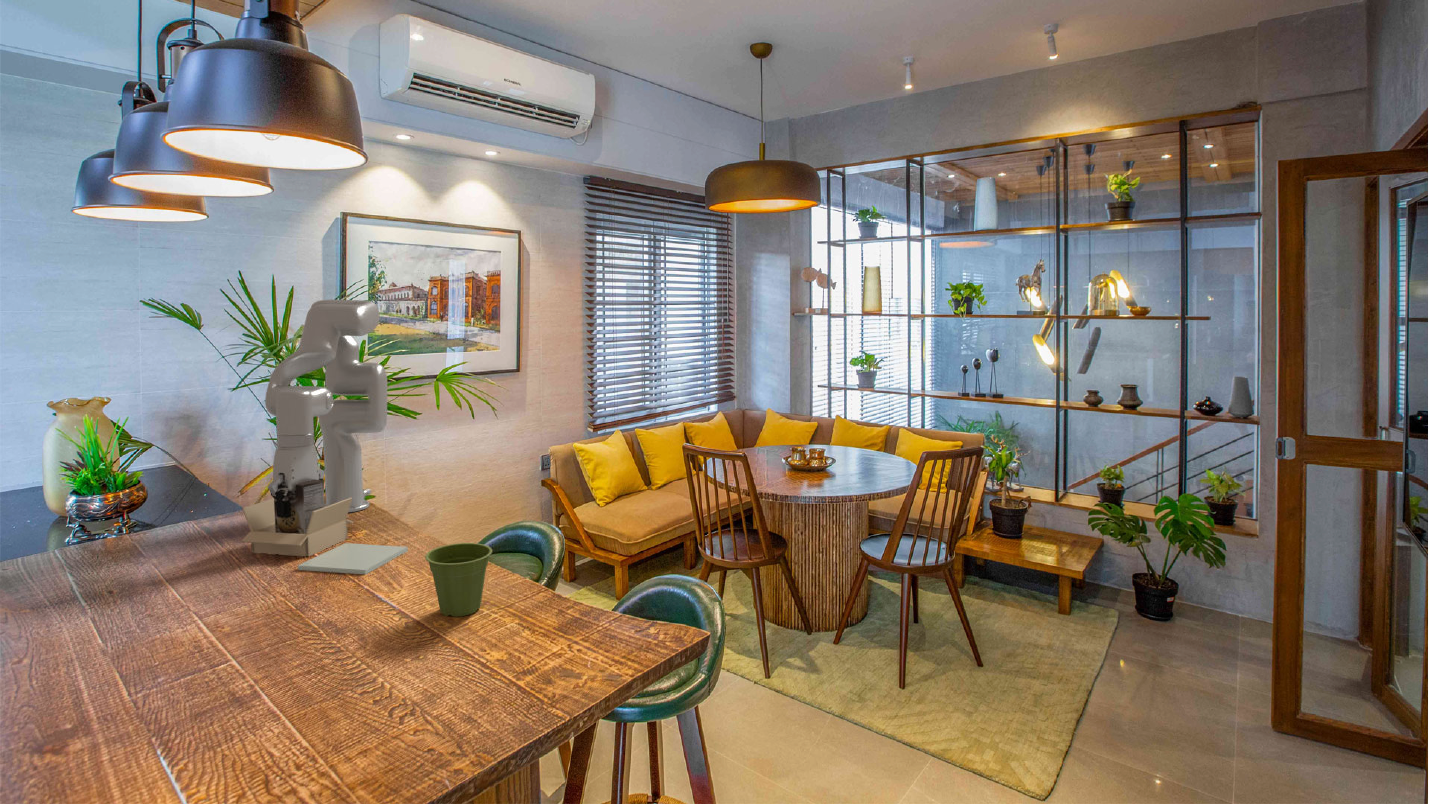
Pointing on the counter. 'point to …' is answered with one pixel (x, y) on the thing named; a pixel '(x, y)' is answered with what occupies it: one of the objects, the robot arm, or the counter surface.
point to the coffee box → (301, 507)
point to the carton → (320, 534)
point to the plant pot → (459, 576)
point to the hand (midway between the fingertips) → (299, 511)
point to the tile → (353, 558)
